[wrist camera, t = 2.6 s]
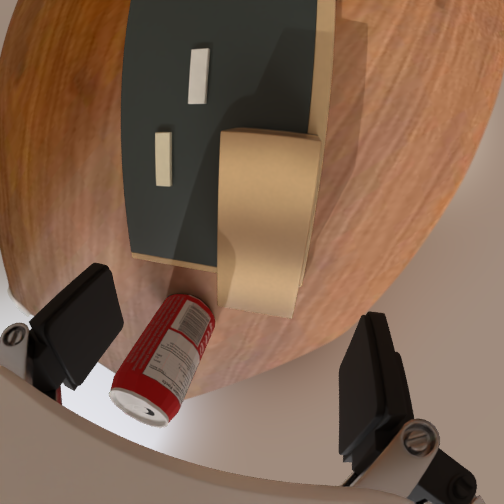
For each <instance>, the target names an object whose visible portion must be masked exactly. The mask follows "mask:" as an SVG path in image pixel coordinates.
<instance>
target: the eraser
mask: <svg viewBox="0 0 504 504" xmlns="http://www.w3.org/2000/svg"><path fill="white" fill-rule="evenodd" d="M321 145H322V142H321V140H320V138H319V136H318V135H316V134H309V133H302V132H294V131H286V130H276V129H266V128H254V127H238V128H232V129H228V130H223V131H221V133H220V156H219V185H218V230H217V305H218V306H220V307H225V308H231V309H236V310H241V311H247V312H253V313H258V314H264V315H270V316H276V317H283V318H289V319H292V318H293V314H294V309H295V304H296V299H297V294H298V289H299V284H300V279H301V274H302V268H303V263H304V257H305V252H306V246H307V240H308V234H309V228H310V222H311V216H312V210H313V203H314V197H315V190H316V183H317V176H318V168H319V161H320V153H321Z"/></svg>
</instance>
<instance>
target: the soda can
mask: <svg viewBox="0 0 504 504" xmlns="http://www.w3.org/2000/svg"><path fill="white" fill-rule="evenodd" d="M214 327H215V319H214V316H213V314H212V312H211V311H210V309H209V308H208V307H207V306H206V305H205V304H204V303H203V302H202V301H201V300H200V299H198V298H196V297H194V296H192V295H184V294H175V295H171V296H169V297H167V298H166V300H165V301H164V302H163V304H162V305H161V307H160V308H159V310H158V311H157V312H156V314H155V315H154V317H153V318H152V320H151V321H150V323H149V324H148V326H147V327H146V329H145V330H144V332H143V333H142V335H141V336H140V338H139V339H138V341H137V342H136V344H135V345H134V347H133V348H132V350H131V351H130V353H129V354H128V356H127V357H126V359H125V360H124V362H123V363H122V365H121V366H120V368H119V370H118V371H117V373H116V374H115V376H114V379H113V383H112V387H111V391H110V392H109V397H110V398H111V400H112V402H113V403H114V404H115V405H116V406H117V407H118V408H120V409H121V410H122V411H123V412H124V413H126V414H127V415H129V416H130V417H132V418H134V419H136V420H138V421H139V422H142V423H144V424H146V425H150V426H154V427H159V428H162V427H166V426H167V425H168V423H169V422H170V420H172V418H173V417H174V416H175V415H176V414H177V413H178V411H179V409H180V407H181V404H182V402H183V400H184V397H185V395H186V393H187V390H188V388H189V386H190V383H191V381H192V379H193V376H194V374H195V372H196V369H197V367H198V365H199V362H200V360H201V358H202V355H203V353H204V351H205V348H206V346H207V344H208V341H209V339H210V337H211V334H212V332H213V330H214Z"/></svg>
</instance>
